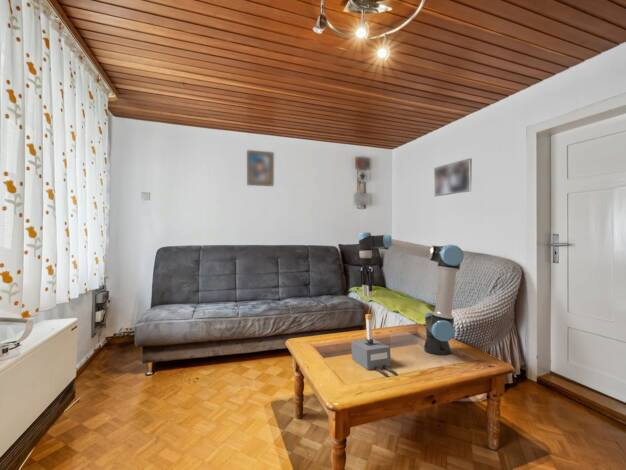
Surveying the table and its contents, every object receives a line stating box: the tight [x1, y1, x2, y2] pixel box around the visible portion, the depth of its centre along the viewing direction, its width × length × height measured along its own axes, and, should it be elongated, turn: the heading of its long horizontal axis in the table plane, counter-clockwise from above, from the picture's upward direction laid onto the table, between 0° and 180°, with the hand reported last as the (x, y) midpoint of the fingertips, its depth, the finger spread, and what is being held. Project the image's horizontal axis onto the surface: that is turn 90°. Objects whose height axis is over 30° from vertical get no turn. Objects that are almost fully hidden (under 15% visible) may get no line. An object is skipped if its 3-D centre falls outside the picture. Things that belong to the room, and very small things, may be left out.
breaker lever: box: [365, 313, 373, 344], centre depth 159 cm, size 4×2×15 cm, turn 19°
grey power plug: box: [350, 338, 398, 377], centre depth 152 cm, size 29×14×10 cm, turn 19°
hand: (367, 296), depth 172 cm, fingers open, 5 cm apart
